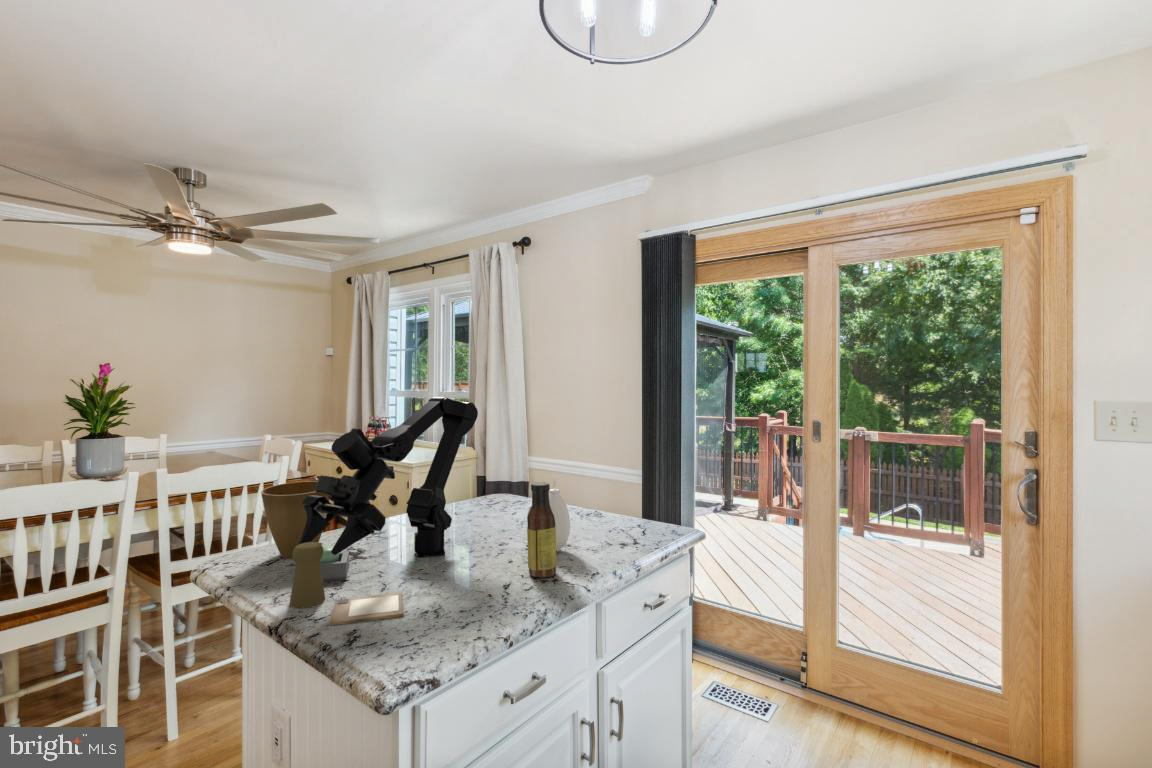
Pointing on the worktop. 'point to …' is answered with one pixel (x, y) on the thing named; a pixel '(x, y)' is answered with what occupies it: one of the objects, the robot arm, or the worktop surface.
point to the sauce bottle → (541, 533)
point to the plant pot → (288, 513)
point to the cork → (307, 576)
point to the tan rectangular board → (367, 608)
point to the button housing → (336, 568)
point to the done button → (329, 555)
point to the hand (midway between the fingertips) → (316, 550)
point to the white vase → (559, 517)
